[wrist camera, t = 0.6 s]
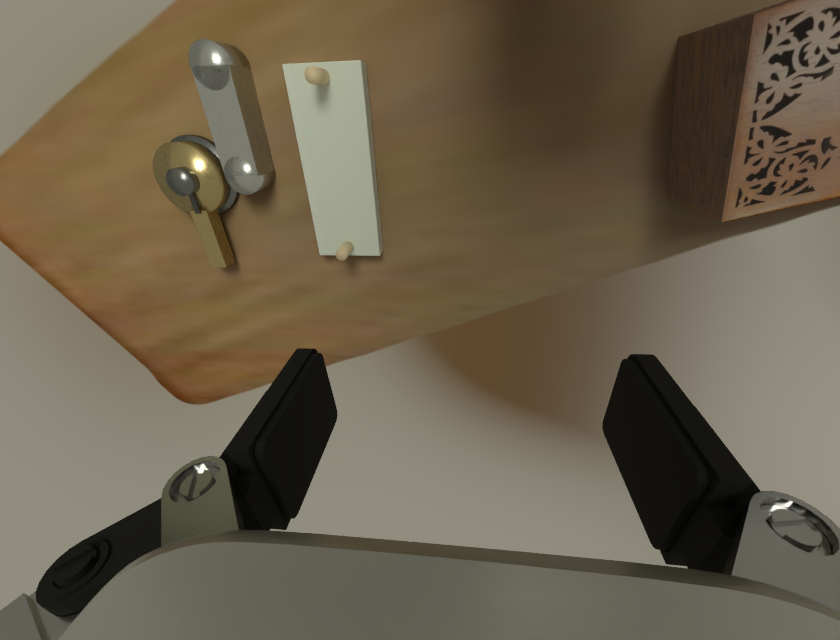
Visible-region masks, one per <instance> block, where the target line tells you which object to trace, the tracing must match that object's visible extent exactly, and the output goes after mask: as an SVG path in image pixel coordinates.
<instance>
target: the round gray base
mask: <svg viewBox="0 0 840 640" xmlns="http://www.w3.org/2000/svg"><path fill="white" fill-rule="evenodd" d="M185 140H187V141H194V142H197V143H200V144H202V145H204V146H205V147H207V148H208V149H209V150H211V151H212V152H213V153H214V154H215V155H216V156H217V157H218V158H219V156H218V152H217V149H216V146H215V143H214V142H212V141H210V140H208V139H206V138H204V137H201V136H197V135H184V136H179V137H176V138H174V139H173V140H171V141H170V142H177V141H185ZM238 196H239V193H238V192H237V191H235V190H234V189H233V188H232V187H231V191H230V196H229V199H228V201H227V202H226V204H225V205H224V206H223V207H221V208H219V209H217V210H218V213H221V212H223V211H225V210H228V209H229V208H231V207H232V206H233V205H234V204H235V202H236V201H237V199H238Z"/></svg>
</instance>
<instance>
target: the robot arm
mask: <svg viewBox="0 0 840 640" xmlns="http://www.w3.org/2000/svg"><path fill="white" fill-rule="evenodd" d="M336 420H337V409H336V405H335V401H334V397H333V393H332V390H331V386H330V382H329V378H328V374H327V371H326V367H325V363H324V359H323V356H322V354H321V353H318V352H317V350H316V349H297V350H296V351H295V352H294V353H293V355H292V356H291V358H290V359H289V360H288V362H287V363H286V365H285V366H284V368H283V369H282V370H281V372H280V373H279V375H278V376H277V377H276V379H275V380H274V382H273V383H272V385H271V386H270V387H269V389H268V390H267V391H266V392H265V394H264V395H263V397H262V398H261V399H260V401H259V402H258V404H257V405H256V407H255V408H254V409H253V411H252V413H251V414H250V415H249V416H248V418H247V419H246V421H245V422H244V424H243V425H242V427H241V428H240V429H239V431H238V432H237V434H236V435H235V436H234V438H233V439H232V441H231V442H230V443H229V445H228V446H227V448H226V449H225V450H224V452H223V453H222V455H221V456H220V457H214V456H208V457H202V458H199V459H196V460H193V461H191V462H190V463H188V464H186V465H184V466H183V467H182V468H180V469H179V470H178V471H177V472H175V473H174V474H173V476H172V477H171V478H170V479H169V480H168V482H167V483H166V485H165V487H164V488H163V492H162V497H161V499H159V500H157V501H155V502H153V503H152V504H150V505H148V506H146V507H144V508H142V509H141V510H139V511H137V512H135V513H133V514H131V515H129V516H127V517H126V518H124V519H122V520H120V521H118V522H117V523H115V524H113V525H111V526H109V527H107V528H106V529H103V530H102V531H100V532H98V533H96V534H94V535H92V536H90V537H89V538H87V539H85V540H83V541H81V542H80V543H78V544H77V545H75V546H74V547H72V548H70V549H69V550H68V551H67V552H65V553H64V554H63V555H62V556H60V557H59V558H58V559H57V560H56V561H55V562H54V563H53V565H52V566H51V567H50V568H49V569H48V570H47V571H46V573H45V574H44V576H43V577H42V579H41V581H40V582H39V585H38V587H37V590H36V592H34V593H33V594H31V595H30V596H28V595H26V594H25V593H23V594H22V595H21V596H19V597H18V598H17V599H15V600H14V601H13V602H11V603H10V604H9V605H7V606H6V607H5V608H3V609H2V610H1V611H0V640H840V529H839V528H838V527H837V526H836V525H835V524H834V522H833V521H832V520H831V519H829V518H828V517H827V516H826V515H824V514H823V513H821V512H820V511H819V510H818V509H816V508H815V507H813V506H811V505H809V504H807V503H806V502H804V501H802V500H800V499H797V498H795V497H793V496H790V495H787V494H784V493H780V492H775V491H760V490H759V488H758V487H757V486H756V485H755V483H754V482H753V481H752V479H751V478H750V477H749V476H748V474H747V473H746V472H745V470H744V469H743V468H742V467H741V465H740V464H739V463H738V461H737V460H736V459H735V458H734V456H733V455H732V454H731V452H730V451H729V450H728V448H727V447H726V446H725V445H724V443H723V442H722V441H721V439H720V438H719V437H718V436H717V434H716V433H715V432H714V430H713V429H712V428H711V427H710V425H709V424H708V423H707V421H706V420H705V419H704V418H703V416H702V415H701V414H700V412H699V411H698V410H697V408H696V407H695V406H694V405H693V404H692V403H691V401H690V400H689V399H688V398H687V396H686V395H685V394H684V392H683V391H682V390H681V389H680V387H679V386H678V385H677V384H676V382H675V381H674V380H673V378H672V377H671V376H670V374H669V373H668V372H667V371H666V369H665V368H664V367H663V365H662V364H661V363H660V361H659V360H658V359H657V358H656V357H655V356H654V355H644V354H632V355H630V356H629V357H628V359H624V360H622V362H621V365H620V368H619V371H618V374H617V378H616V381H615V384H614V387H613V391H612V394H611V397H610V400H609V404H608V407H607V410H606V413H605V417H604V420H603V432H604V435H605V437H606V439H607V442H608V444H609V447H610V449H611V451H612V454H613V456H614V458H615V461H616V463H617V465H618V467H619V470H620V472H621V475H622V477H623V479H624V482H625V484H626V486H627V489H628V491H629V493H630V496H631V498H632V500H633V503H634V505H635V507H636V510H637V512H638V514H639V516H640V519H641V521H642V523H643V526H644V528H645V531H646V533H647V535H648V538H649V540H650V542H651V544H652V546H653V547H654V548H655V549H660V551H661V554H662V556H663V558H664V560H665V562H666V564H670V565H682V566H687V567H688V569H686V568H677V567H668V566H659V565H650V564H641V563H632V562H623V561H613V560H603V559H592V558H581V557H571V556H561V555H550V554H539V553H529V552H519V551H508V550H497V549H485V548H475V547H463V546H453V545H441V544H430V543H419V542H408V541H395V540H384V539H372V538H361V537H349V536H337V535H325V534H312V533H297V532H281V531H269V530H270V529H282V530H286V529H287V526H288V524H289V522H290V519H291V518H295V517H296V516H297V514H298V512H299V510H300V507H301V505H302V502H303V500H304V498H305V495H306V493H307V490H308V488H309V486H310V483H311V481H312V478H313V476H314V473H315V471H316V469H317V466H318V464H319V461H320V459H321V457H322V454H323V452H324V449H325V447H326V445H327V442H328V440H329V437H330V435H331V432H332V430H333V428H334V425H335V423H336Z"/></svg>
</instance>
